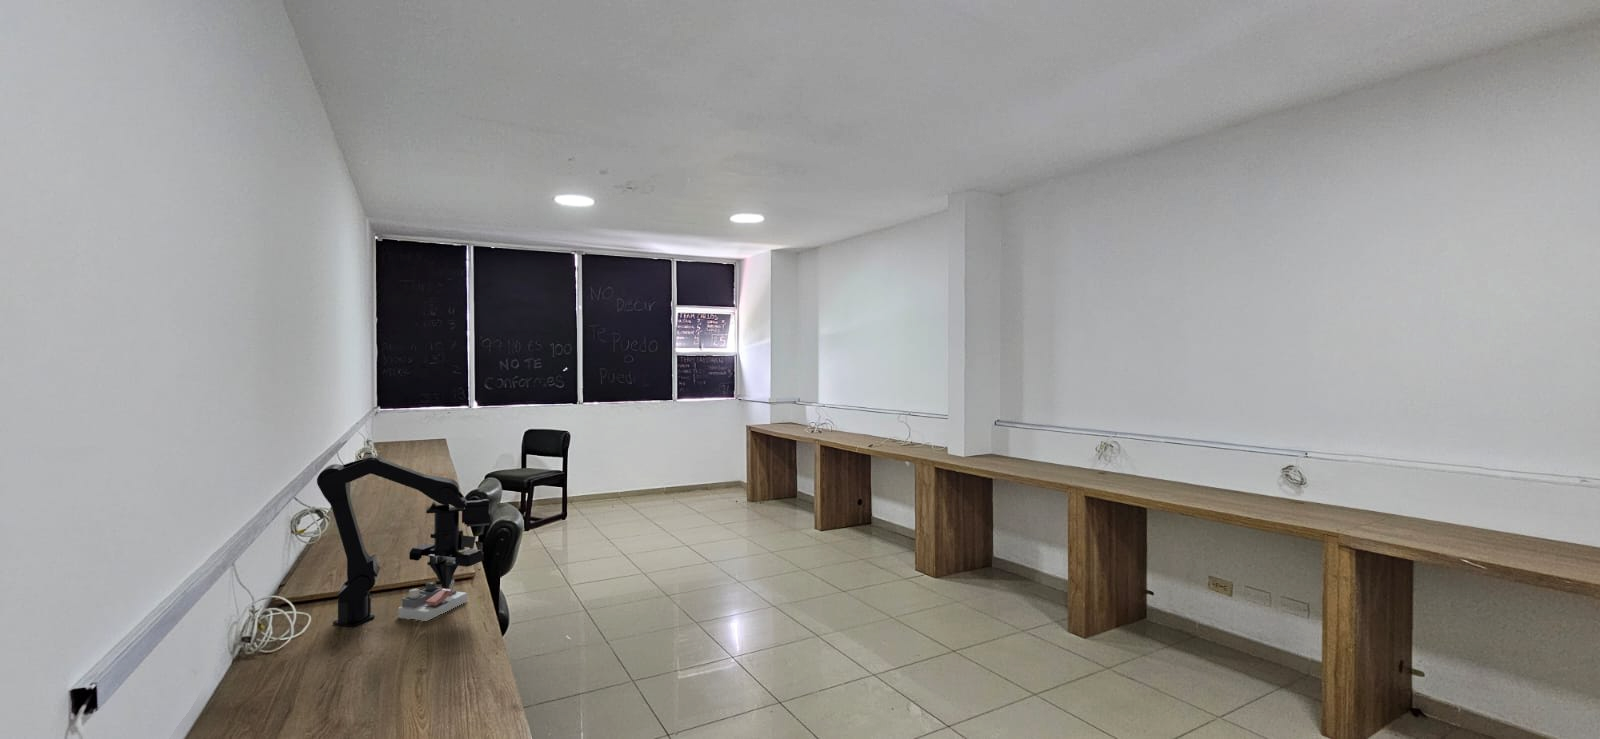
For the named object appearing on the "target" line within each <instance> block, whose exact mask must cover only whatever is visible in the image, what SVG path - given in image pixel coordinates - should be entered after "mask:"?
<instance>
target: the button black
mask: <svg viewBox="0 0 1600 739" xmlns="http://www.w3.org/2000/svg"><path fill="white" fill-rule="evenodd" d="M436 587H437V582H436V581H429V582H426V583H425V589H426V592H433V591H436Z"/></svg>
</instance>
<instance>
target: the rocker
mask: <svg viewBox="0 0 1600 739" xmlns="http://www.w3.org/2000/svg"><path fill="white" fill-rule="evenodd" d="M452 593H453V591H452V589H445V588H443V589H442V590H440V591H439V592H438V593H436V594H435V595H433V596H432V597H431V598H429V599H428V600H427V601H426V604H427V605H434V606H436V605H437V604H439V603H440V602H441V601H443V600H444V599H445V598H447V597H448V596H449V595H451V594H452Z"/></svg>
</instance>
